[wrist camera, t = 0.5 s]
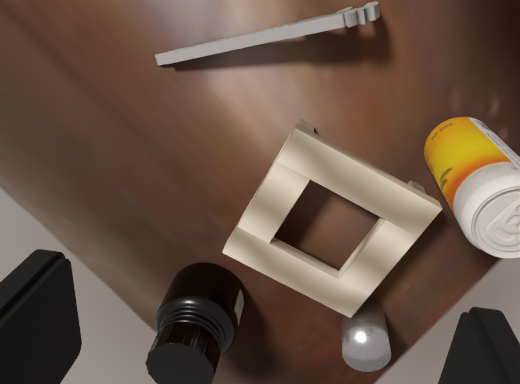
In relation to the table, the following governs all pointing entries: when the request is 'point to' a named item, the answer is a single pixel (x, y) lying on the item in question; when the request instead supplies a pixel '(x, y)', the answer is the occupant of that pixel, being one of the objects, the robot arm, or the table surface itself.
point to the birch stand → (348, 186)
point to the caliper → (275, 33)
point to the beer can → (478, 183)
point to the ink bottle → (195, 325)
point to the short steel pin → (366, 338)
